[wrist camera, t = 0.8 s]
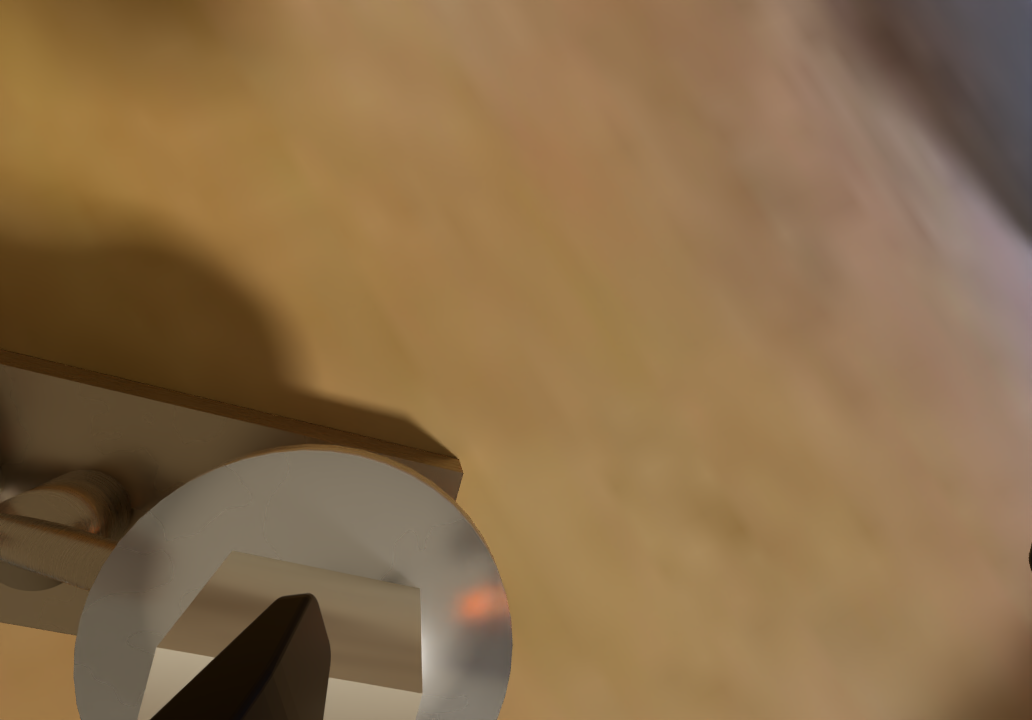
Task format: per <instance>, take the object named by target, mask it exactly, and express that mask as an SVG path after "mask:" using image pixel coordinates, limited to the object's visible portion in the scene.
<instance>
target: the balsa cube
mask: <svg viewBox="0 0 1032 720" xmlns="http://www.w3.org/2000/svg"><path fill="white" fill-rule="evenodd" d="M302 593H311V594H313V595H314V596H315V597H316V599H317V601H318V603H319V607H320V610H321V614H322V617H323V621H324V624H325V628H326V631H327V635H328V638H329V642H330V648H331V665H330V672H329V680H328V688H327V695H326V703H325V711H324V718H323V720H415V719H416V716H417V712H418V709H419V705H420V701H421V698H422V694H423V690H422V648H421V605H420V588H415V587H410V586H406V585H401V584H396V583H391V582H386V581H381V580H376V579H371V578H366V577H361V576H356V575H351V574H346V573H341V572H336V571H331V570H326V569H321V568H316V567H311V566H307V565H302V564H297V563H292V562H287V561H282V560H277V559H272V558H267V557H262V556H257V555H252V554H247V553H242V552H237V551H231V553H230V554H229V555H228V556H227V558H226V559H225V560H224V561H223V563H222V564H221V565H220V567H219V568H218V569H217V570H216V572H215V573H214V574H213V576H212V577H211V578H210V579H209V581H208V582H207V583H206V585H205V586H204V587H203V588H202V590H201V591H200V592H199V593H198V595H197V596H196V597H195V599H194V600H193V601H192V602H191V604H190V605H189V606H188V608H187V609H186V610H185V611H184V613H183V614H182V615H181V617H180V618H179V619H178V620H177V622H176V623H175V624H174V625H173V627H172V628H171V629H170V631H169V632H168V633H167V634H166V636H165V637H164V638H163V640H162V641H161V642H160V643H159V645H158V646H157V647H156V651H155V655H154V658H153V662H152V666H151V670H150V673H149V677H148V681H147V685H146V689H145V692H144V696H143V700H142V704H141V708H140V711H139V715H138V719H137V720H150V719H151V718H152V717H153V716H154V715H155V714H156V713H157V712H158V711H159V710H160V709H161V708H162V707H164V706H165V705H166V704H167V703H168V702H169V701H170V700H171V699H172V698H173V697H174V696H175V695H176V694H177V693H178V692H179V691H180V690H181V689H182V688H184V687H185V686H186V685H187V684H188V683H189V682H190V681H191V680H192V679H193V678H194V677H195V676H196V675H197V674H198V673H199V672H200V671H201V670H202V669H203V668H205V667H206V666H207V665H208V664H209V663H210V662H211V661H212V660H213V659H214V658H215V657H216V656H217V655H218V654H219V653H220V652H221V651H222V650H223V649H224V648H226V647H227V646H228V645H229V644H230V643H231V642H232V641H233V640H234V639H235V638H236V637H237V636H238V635H239V634H240V633H241V632H242V631H243V630H244V629H246V628H247V627H248V626H249V625H250V624H251V623H252V622H253V621H254V620H255V619H256V618H257V617H258V616H259V615H260V614H261V613H262V612H263V611H264V610H265V609H267V608H268V607H269V606H270V605H271V604H272V603H273V602H274V601H275V600H276V599H278V598H279V597H282V596H286V595H294V594H302Z"/></svg>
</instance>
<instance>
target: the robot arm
mask: <svg viewBox="0 0 1032 720" xmlns="http://www.w3.org/2000/svg"><path fill="white" fill-rule="evenodd" d="M1029 564H1030V568H1031V571H1032V544H1031V549H1030V553H1029ZM330 665H331V648H330V642H329V638H328V635H327V631H326V628H325V624H324V621H323V617H322V614H321V610H320V607H319V603H318V601H317V599H316V597H315V596H314V595H313V594H311V593H302V594H294V595H286V596H282V597H279V598H278V599H276V600H275V601H274V602H273V603H272V604H271V605H270V606H269V607H268V608H267V609H265V610H264V611H263V612H262V613H261V614H260V615H259V616H258V617H257V618H256V619H255V620H254V621H253V622H252V623H251V624H250V625H249V626H248V627H247V628H246V629H244V630H243V631H242V632H241V633H240V634H239V635H238V636H237V637H236V638H235V639H234V640H233V641H232V642H231V643H230V644H229V645H228V646H227V647H226V648H224V649H223V650H222V651H221V652H220V653H219V654H218V655H217V656H216V657H215V658H214V659H213V660H212V661H211V662H210V663H209V664H208V665H207V666H206V667H205V668H203V669H202V670H201V671H200V672H199V673H198V674H197V675H196V676H195V677H194V678H193V679H192V680H191V681H190V682H189V683H188V684H187V685H186V686H185V687H184V688H182V689H181V690H180V691H179V692H178V693H177V694H176V695H175V696H174V697H173V698H172V699H171V700H170V701H169V702H168V703H167V704H166V705H165V706H164V707H162V708H161V709H160V710H159V711H158V712H157V713H156V714H155V715H154V716H153V717H152V718H151V719H150V720H323V718H324V711H325V703H326V695H327V688H328V680H329V672H330Z"/></svg>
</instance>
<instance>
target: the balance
mask: <svg viewBox="0 0 1032 720" xmlns="http://www.w3.org/2000/svg"><path fill="white" fill-rule="evenodd" d="M462 476H463V471H462V467H461V464H460V461H459V459H457V458H453V457H449V456H444V455H440V454H436V453H432V452H428V451H423V450H419V449H415V448H411V447H407V446H403V445H398V444H394V443H390V442H386V441H382V440H377V439H373V438H369V437H365V436H361V435H356V434H352V433H348V432H344V431H340V430H336V429H331V428H327V427H323V426H319V425H315V424H310V423H306V422H302V421H298V420H294V419H290V418H285V417H281V416H277V415H273V414H269V413H264V412H260V411H256V410H252V409H248V408H244V407H239V406H235V405H231V404H227V403H223V402H218V401H214V400H210V399H206V398H202V397H198V396H193V395H189V394H185V393H181V392H177V391H172V390H168V389H164V388H160V387H156V386H151V385H147V384H143V383H139V382H135V381H131V380H126V379H122V378H118V377H114V376H110V375H105V374H101V373H97V372H93V371H89V370H85V369H80V368H76V367H72V366H68V365H64V364H59V363H55V362H51V361H47V360H43V359H39V358H34V357H30V356H26V355H22V354H18V353H13V352H9V351H5V350H1V349H0V622H2V623H7V624H13V625H19V626H25V627H30V628H36V629H42V630H48V631H53V632H59V633H65V634H71V635H77V638H76V643H75V653H74V684H75V693H76V702H77V707H78V711H79V714H80V718H81V720H137V719H138V715H139V711H140V708H141V704H142V700H143V696H144V692H145V689H146V685H147V681H148V677H149V673H150V670H151V666H152V662H153V658H154V655H155V651H156V647H157V646H158V645H159V643H160V642H161V641H162V640H163V638H164V637H165V636H166V634H167V633H168V632H169V631H170V629H171V628H172V627H173V625H174V624H175V623H176V622H177V620H178V619H179V618H180V617H181V615H182V614H183V613H184V611H185V610H186V609H187V608H188V606H189V605H190V604H191V602H192V601H193V600H194V599H195V597H196V596H197V595H198V593H199V592H200V591H201V590H202V588H203V587H204V586H205V585H206V583H207V582H208V581H209V579H210V578H211V577H212V576H213V574H214V573H215V572H216V570H217V569H218V568H219V567H220V565H221V564H222V563H223V561H224V560H225V559H226V558H227V556H228V555H229V554H230V553H231V551H237V552H242V553H247V554H252V555H257V556H262V557H267V558H272V559H277V560H282V561H287V562H292V563H297V564H302V565H307V566H311V567H316V568H321V569H326V570H331V571H336V572H341V573H346V574H351V575H356V576H361V577H366V578H371V579H376V580H381V581H386V582H391V583H396V584H401V585H406V586H410V587H415V588H420V605H421V648H422V690H423V694H422V698H421V701H420V705H419V709H418V712H417V716H416V719H415V720H497V718H498V715H499V712H500V709H501V706H502V703H503V700H504V698H505V694H506V690H507V685H508V680H509V675H510V670H511V657H512V628H511V617H510V612H509V607H508V602H507V597H506V593H505V590H504V587H503V584H502V581H501V578H500V575H499V572H498V569H497V566H496V563H495V560H494V557H493V555H492V553H491V552H490V550H489V548H488V546H487V544H486V542H485V540H484V538H483V536H482V534H481V533H480V531H479V530H478V529H477V527H476V526H475V524H474V523H473V521H472V520H471V518H470V517H469V516H468V515H467V513H466V512H465V511H464V510H463V509H462V508H461V507H460V506H459V505H458V504H457V503H456V498H457V494H458V491H459V487H460V483H461V480H462Z"/></svg>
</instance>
